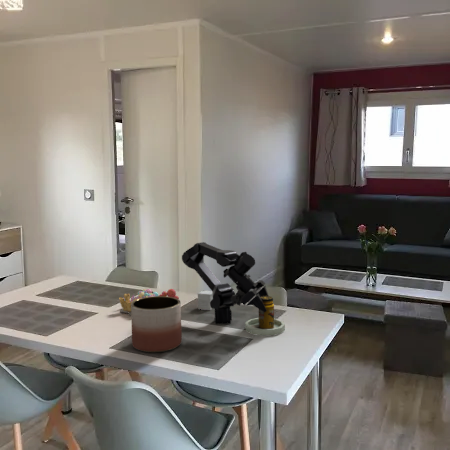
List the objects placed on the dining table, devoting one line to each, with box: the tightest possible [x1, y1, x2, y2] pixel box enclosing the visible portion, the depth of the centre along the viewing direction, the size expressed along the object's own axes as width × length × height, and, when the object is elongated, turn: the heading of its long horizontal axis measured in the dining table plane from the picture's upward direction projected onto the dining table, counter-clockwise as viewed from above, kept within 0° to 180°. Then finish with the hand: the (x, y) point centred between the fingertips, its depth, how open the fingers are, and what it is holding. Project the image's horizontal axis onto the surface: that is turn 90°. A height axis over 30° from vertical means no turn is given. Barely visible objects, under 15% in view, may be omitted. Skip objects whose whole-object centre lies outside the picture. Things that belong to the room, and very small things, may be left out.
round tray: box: [244, 317, 286, 337], centre depth 196 cm, size 15×15×2 cm
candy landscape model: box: [118, 288, 180, 316], centre depth 224 cm, size 25×24×9 cm
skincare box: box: [197, 290, 213, 311], centre depth 225 cm, size 6×6×7 cm
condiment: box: [251, 295, 276, 329], centre depth 195 cm, size 7×8×12 cm
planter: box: [130, 296, 183, 353], centre depth 180 cm, size 18×18×16 cm
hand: (268, 308), depth 195 cm, fingers open, 9 cm apart
